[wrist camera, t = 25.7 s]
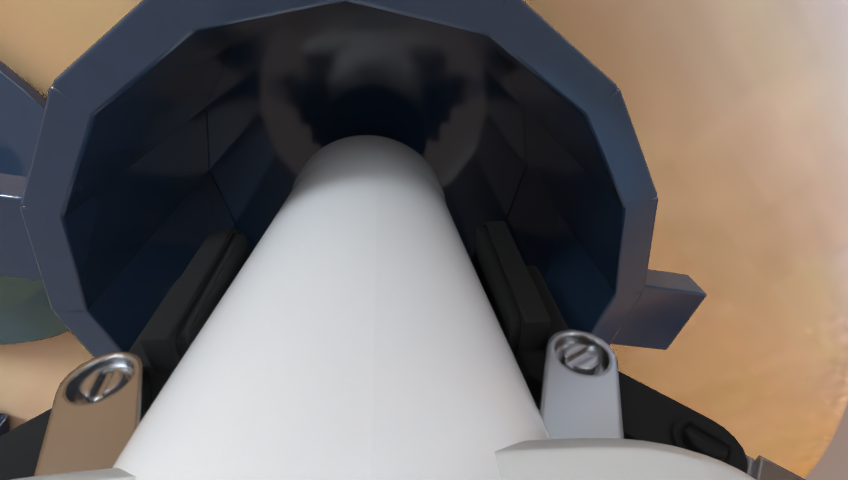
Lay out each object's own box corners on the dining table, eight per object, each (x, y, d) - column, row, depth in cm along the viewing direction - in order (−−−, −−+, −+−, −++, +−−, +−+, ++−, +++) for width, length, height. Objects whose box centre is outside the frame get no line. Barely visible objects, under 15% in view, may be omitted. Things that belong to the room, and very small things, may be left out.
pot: (78, -120, 13) (-373, -249, 5) (659, 34, 16) (896, 92, 9) (140, 267, 20) (-6, 447, 13) (529, 314, 24) (595, 474, 16)
